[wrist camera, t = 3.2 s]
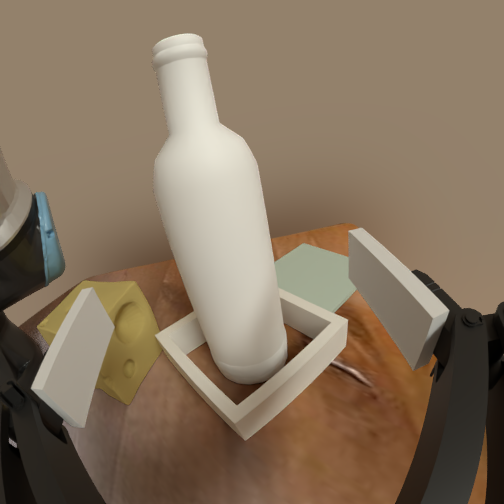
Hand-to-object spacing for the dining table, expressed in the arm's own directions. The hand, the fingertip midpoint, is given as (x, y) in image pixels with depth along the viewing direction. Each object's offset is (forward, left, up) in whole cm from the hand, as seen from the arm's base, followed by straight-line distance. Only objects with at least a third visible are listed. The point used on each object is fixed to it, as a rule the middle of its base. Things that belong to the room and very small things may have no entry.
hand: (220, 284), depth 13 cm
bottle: (-7, +5, -16) cm, 18 cm away
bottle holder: (-7, +5, -16) cm, 18 cm away
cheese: (-18, -8, -16) cm, 26 cm away
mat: (-11, +20, -16) cm, 28 cm away
